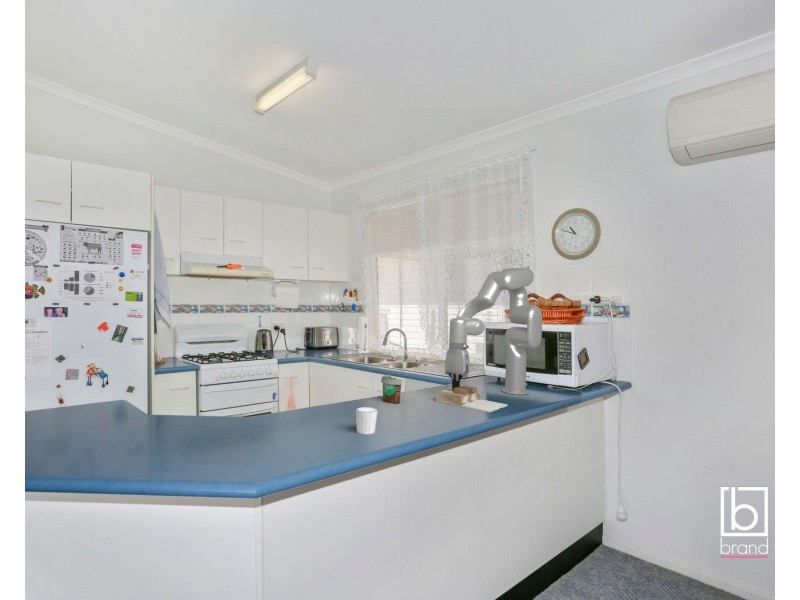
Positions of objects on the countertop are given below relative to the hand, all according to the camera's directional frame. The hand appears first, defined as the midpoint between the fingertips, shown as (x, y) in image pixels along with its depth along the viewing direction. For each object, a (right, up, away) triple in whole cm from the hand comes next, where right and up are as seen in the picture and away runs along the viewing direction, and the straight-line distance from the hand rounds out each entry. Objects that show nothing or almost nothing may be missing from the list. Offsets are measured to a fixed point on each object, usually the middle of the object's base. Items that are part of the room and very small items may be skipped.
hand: (455, 389), depth 189 cm
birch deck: (+1, -5, -1) cm, 5 cm away
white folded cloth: (+11, -5, -9) cm, 15 cm away
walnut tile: (+4, 0, -3) cm, 5 cm away
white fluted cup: (-35, -3, -50) cm, 61 cm away
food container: (-29, -4, -8) cm, 30 cm away
